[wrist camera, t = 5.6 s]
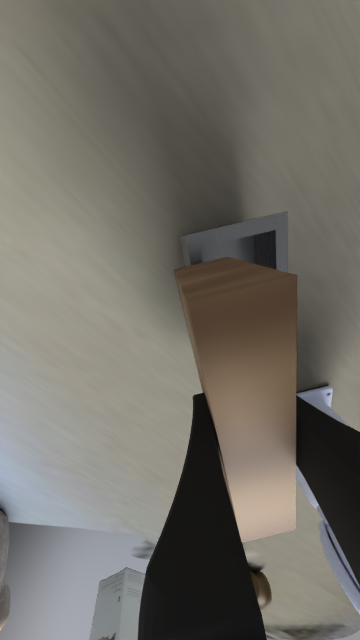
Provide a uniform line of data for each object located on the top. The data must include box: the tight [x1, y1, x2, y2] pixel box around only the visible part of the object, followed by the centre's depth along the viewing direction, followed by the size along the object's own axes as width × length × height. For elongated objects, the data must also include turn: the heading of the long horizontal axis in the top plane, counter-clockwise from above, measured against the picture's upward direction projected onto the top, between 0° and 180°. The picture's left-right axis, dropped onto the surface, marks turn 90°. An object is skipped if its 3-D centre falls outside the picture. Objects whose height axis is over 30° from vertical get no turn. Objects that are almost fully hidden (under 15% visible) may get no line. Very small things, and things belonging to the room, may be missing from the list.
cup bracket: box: [179, 212, 288, 273], centre depth 15 cm, size 6×6×6 cm
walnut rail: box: [174, 257, 297, 542], centre depth 11 cm, size 14×3×6 cm, turn 13°
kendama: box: [250, 571, 272, 610], centre depth 40 cm, size 6×10×20 cm
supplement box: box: [89, 567, 145, 640], centre depth 34 cm, size 7×7×13 cm
